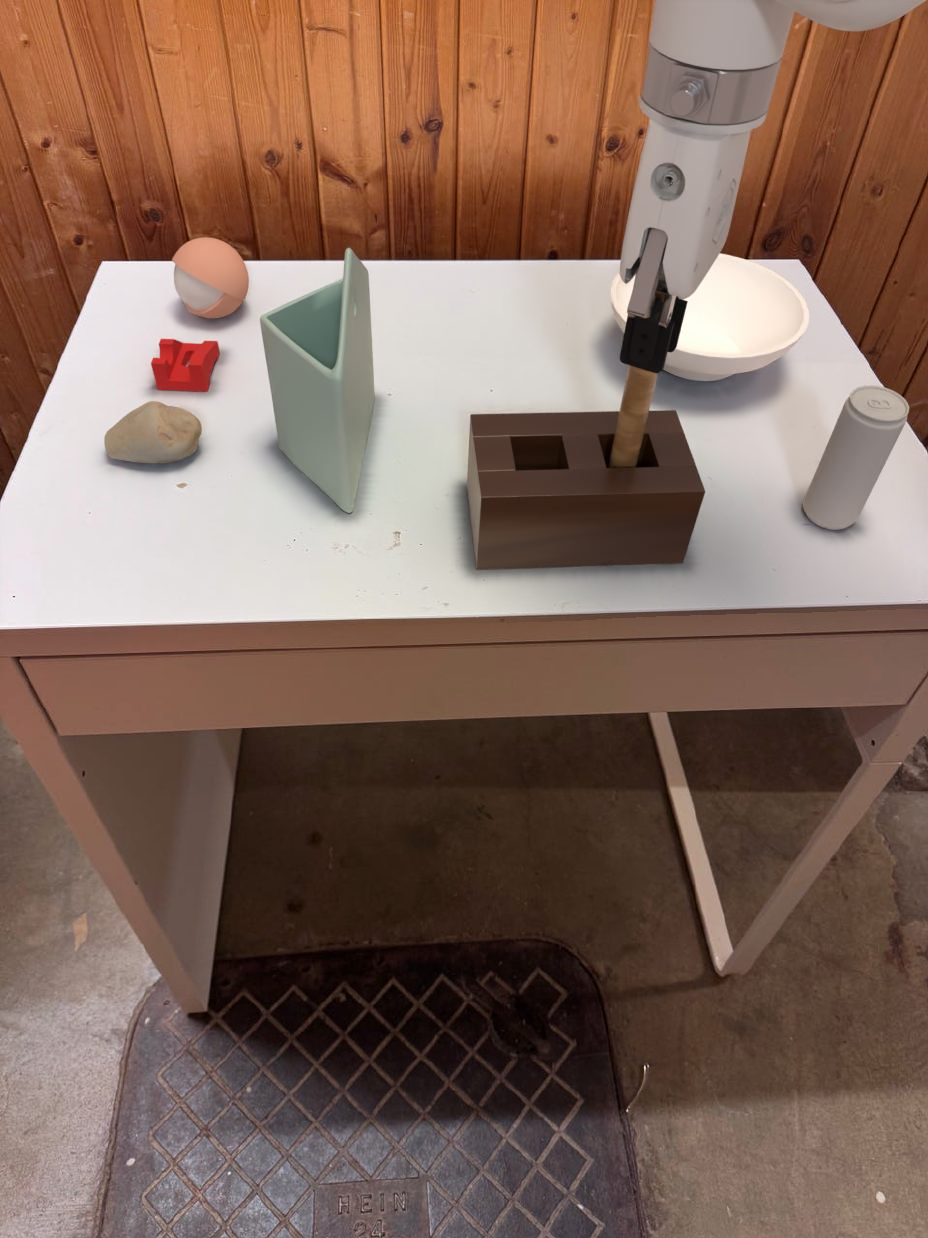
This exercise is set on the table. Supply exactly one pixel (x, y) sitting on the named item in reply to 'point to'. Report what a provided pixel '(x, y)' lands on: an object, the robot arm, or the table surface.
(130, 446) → the stone
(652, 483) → the holder
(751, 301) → the bowl
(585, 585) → the table surface
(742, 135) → the robot arm
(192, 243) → the toy ball
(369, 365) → the planter
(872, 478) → the beverage can
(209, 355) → the bracket
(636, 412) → the stirring stick
